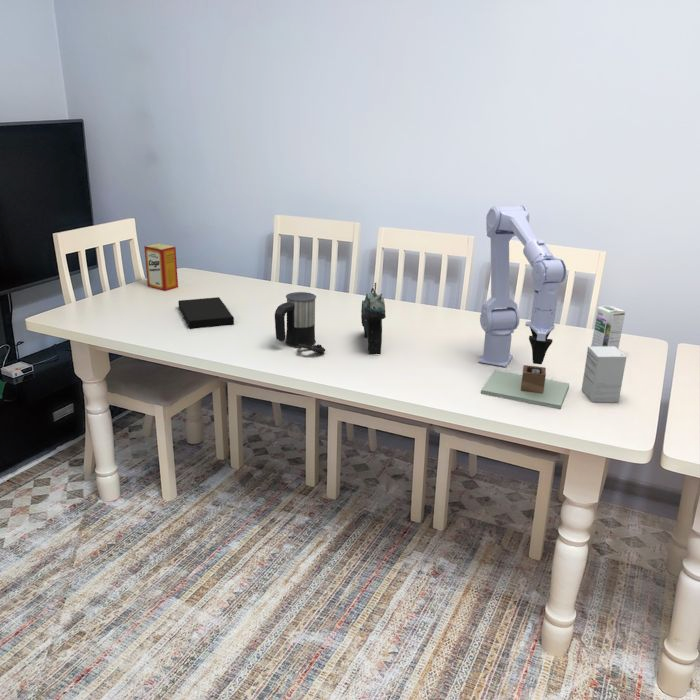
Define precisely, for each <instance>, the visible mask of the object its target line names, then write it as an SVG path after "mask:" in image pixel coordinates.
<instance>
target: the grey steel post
mask: <svg viewBox="0 0 700 700" xmlns="http://www.w3.org/2000/svg"><path fill="white" fill-rule="evenodd" d="M532 373H540V370H538V369H532Z"/></svg>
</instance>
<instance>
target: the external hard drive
mask: <svg viewBox="0 0 700 700" xmlns="http://www.w3.org/2000/svg"><path fill="white" fill-rule="evenodd" d="M177 301H178V310H179V311H180V313H181V315H182V317H183V319H184V320H185V322H186V325H187V327H188V329H189V330H195V329H203V328H204V329H205V328H215V327H225V326H234V325H235V318H234V316H233V315H232V313H231V312H230V311H229V309H228V308H227V306H226V305H225V303H224V302H223V301H222V299H221V297H218V296H217V297H206V298H205V297H204V298H194V299H182V300H177Z"/></svg>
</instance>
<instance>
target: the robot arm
mask: <svg viewBox="0 0 700 700" xmlns="http://www.w3.org/2000/svg"><path fill="white" fill-rule="evenodd" d="M485 219H486V224H485V225H486V226H485V228H486V229H485V230H486V236H487V237H488V238H490V298H488V299H487V300H486V301H485V302H483V304H482V305H481V310H480V311H481V312H480V316H479V322H480V324H479V325H480V327H481V329H482V330H483V331H484V332H485V333H484V340H483V352H482V355H481V357H480V358H479V360H478V363H482V364H487V365H493V366H497V367H505V368H506V367H507V366H508V365H509V363H510V362H511V360H512V358H513V357H514V354H511V344H512V337H513V336H512V334H514V333H515V330H516V329H518V327H519V325H520V319H521V318H520V314H519V309H518V307H519V306H518V304H517V302H515V301H514V300H513V299H511V297H510V241H511V240H512V238H514V237H516V238H517V239H518V240H519V242H520V243H521V244H522V245H523V246H524V247H523V250H522V252H523V255H524V257H525V259H526V260H527V261H528V263H529V265H530V266H531V268H532V269H531V276H532V288H533V290H534V292H533V298H532V307H531V315H530V321H525V324H524V325H525V327H529V329H530V332H531V335H529V336H528V341H529V343H530V347H531V353H532V354H531V355H532V364H533V365H534V364H535V365H542V364H543V362H544V360H545V357H546V354H547V351H548V349H549V348H550V346H551V345H552V344H553V341H554V340H553V338H548V337H549V335H550V333H552V332H553V330H555V319H556V313H557V306H558V305H557V304H558V299H559V298H558V297H559V291H560V283H563V282H564V281H565V279H566V277H567V266H566V263H565V261H564V260H563V259H562V258H558V257H557V256H554V255H553V253H552V251H550V248H549V247H548V246H547V244H546V242H545V241H544V240H543V239H541V238H537V236H536V235H535V232H534V230H533V229H532V227H531V225H530V212H529V210H528V209H527V207H526V206H525V205H519V206H516V205H515V206H514V205H513V206H510V205H509V206H497V205H496V206H495V205H493V206H491V207H490V209H489V210H488V212H487V214H486V217H485Z"/></svg>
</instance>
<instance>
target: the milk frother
mask: <svg viewBox="0 0 700 700" xmlns="http://www.w3.org/2000/svg"><path fill="white" fill-rule="evenodd" d="M285 298H286V302H285V303H281V304H279V306H277V307H276V310H275V312H274V325H275V326H274V327H275V339H276V340H278V341H280V342H285V344H286V345H287V346H289V347H292V346H293V348H302V349H306V350H307V349H308V350H310V351H312V352H313V353H316V352H317V353H316V354H319V353H320V354H321V353H322V352H326V348H324V346H322V344H318V343H317V344H316V342H317V341H316V334H315V333H316V332H315V331H316V328H315V327H316V298H317V295H316V294H314V293H311V292H306V291H297V292H296V291H295V292H291V293H287V294H286V295H285ZM285 316H286V318H285ZM285 319H286V322H285Z"/></svg>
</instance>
